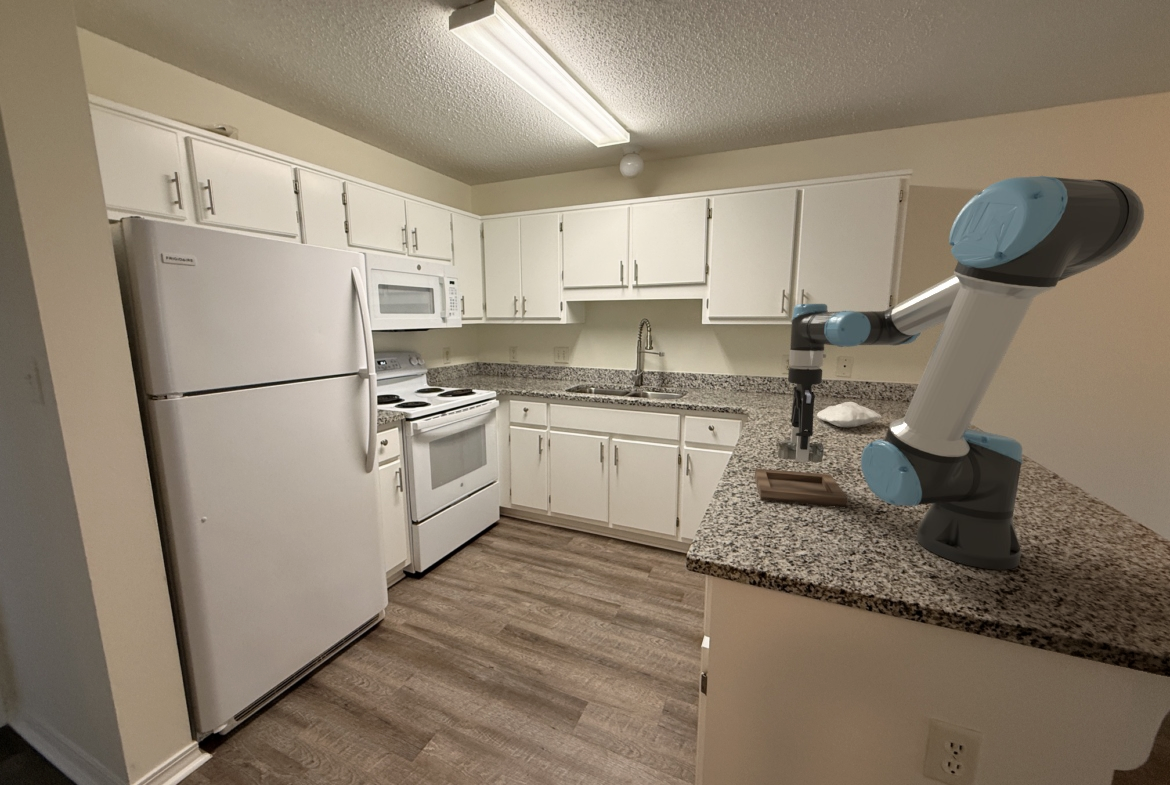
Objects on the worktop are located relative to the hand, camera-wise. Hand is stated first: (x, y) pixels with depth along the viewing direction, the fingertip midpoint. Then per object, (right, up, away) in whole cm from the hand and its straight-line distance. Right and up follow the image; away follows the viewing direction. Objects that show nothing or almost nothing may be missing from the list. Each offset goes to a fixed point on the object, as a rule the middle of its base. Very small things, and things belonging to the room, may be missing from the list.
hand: (798, 456), depth 115 cm
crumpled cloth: (+55, +2, +74) cm, 93 cm away
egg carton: (0, -1, 0) cm, 1 cm away
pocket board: (0, -9, +1) cm, 9 cm away
